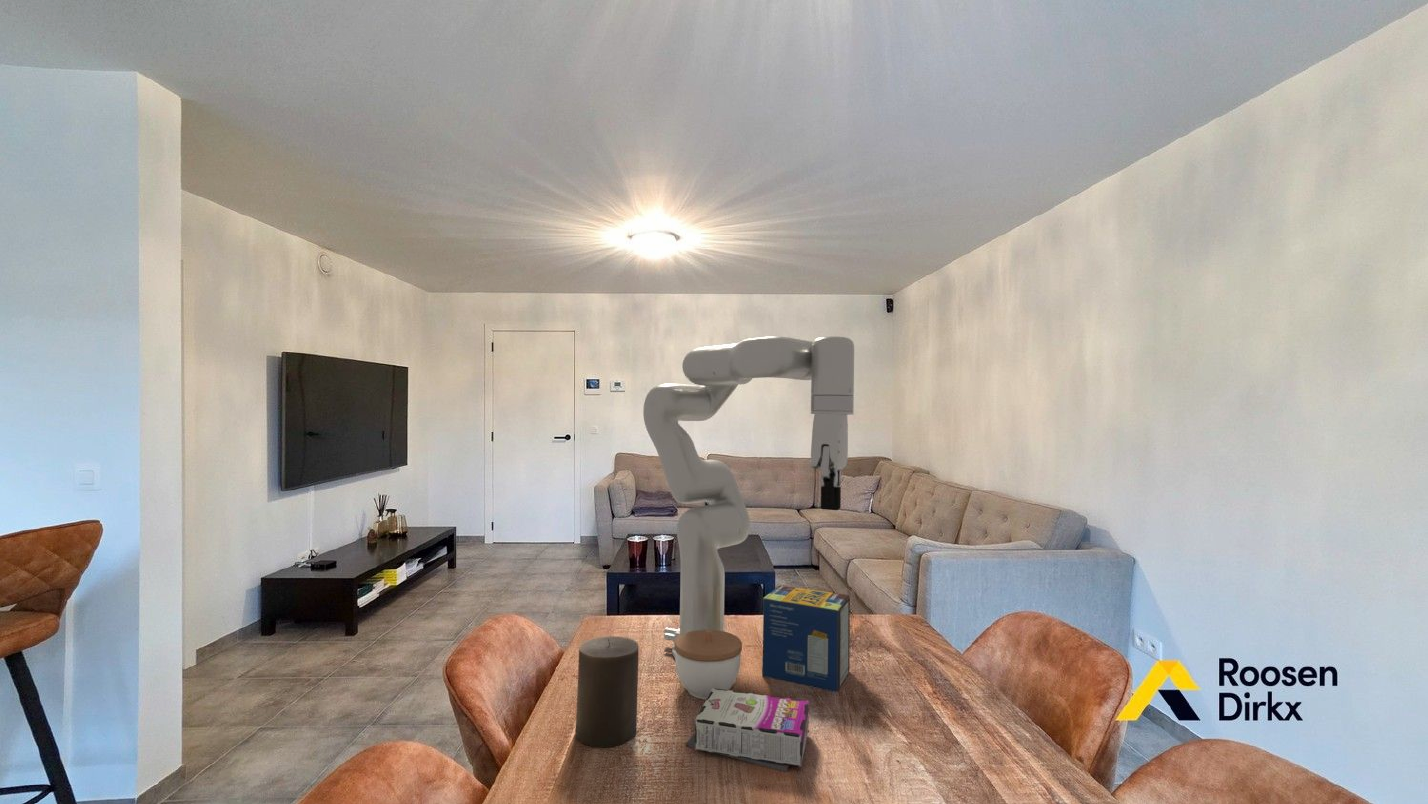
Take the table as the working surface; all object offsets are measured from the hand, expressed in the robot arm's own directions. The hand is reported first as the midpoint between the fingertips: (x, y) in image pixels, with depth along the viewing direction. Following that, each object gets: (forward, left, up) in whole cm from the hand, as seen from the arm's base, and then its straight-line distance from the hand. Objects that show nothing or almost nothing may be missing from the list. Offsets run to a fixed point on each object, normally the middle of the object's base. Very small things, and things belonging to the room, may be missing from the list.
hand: (830, 508), depth 106 cm
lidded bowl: (-22, -3, -35) cm, 42 cm away
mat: (-9, -15, -35) cm, 39 cm away
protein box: (-7, +12, -35) cm, 38 cm away
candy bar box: (0, -15, -32) cm, 36 cm away
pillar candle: (-31, -23, -35) cm, 52 cm away
